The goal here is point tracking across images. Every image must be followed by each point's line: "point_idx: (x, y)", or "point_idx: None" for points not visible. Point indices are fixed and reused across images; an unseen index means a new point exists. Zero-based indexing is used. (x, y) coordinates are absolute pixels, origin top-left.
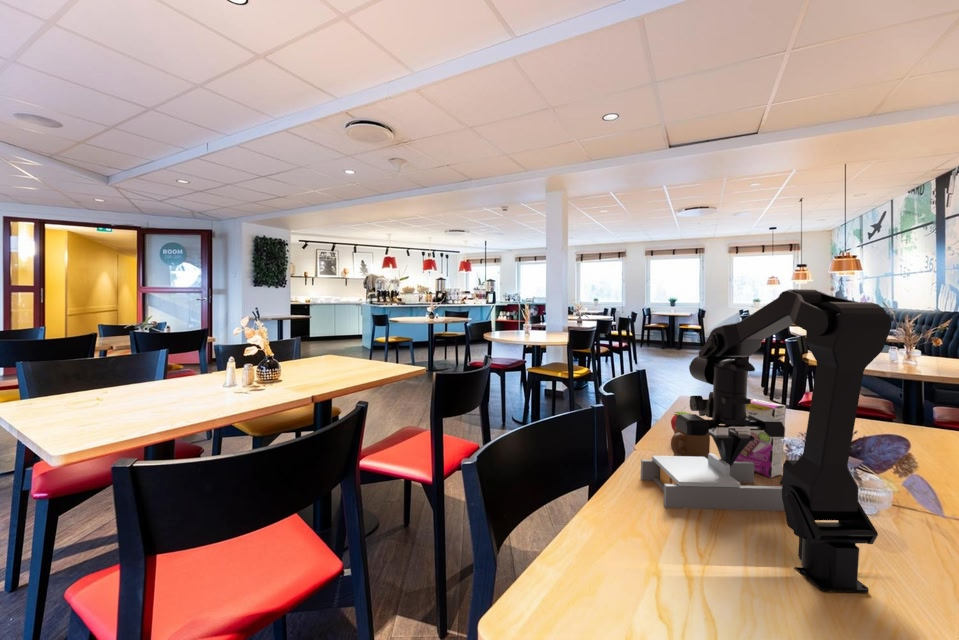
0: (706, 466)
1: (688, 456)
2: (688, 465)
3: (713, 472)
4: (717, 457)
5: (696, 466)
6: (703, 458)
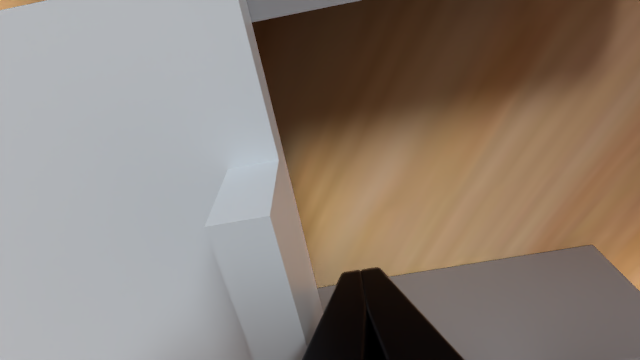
0: (194, 261)
1: (22, 12)
2: (35, 271)
3: (225, 355)
4: (284, 322)
5: (105, 277)
6: (206, 38)
